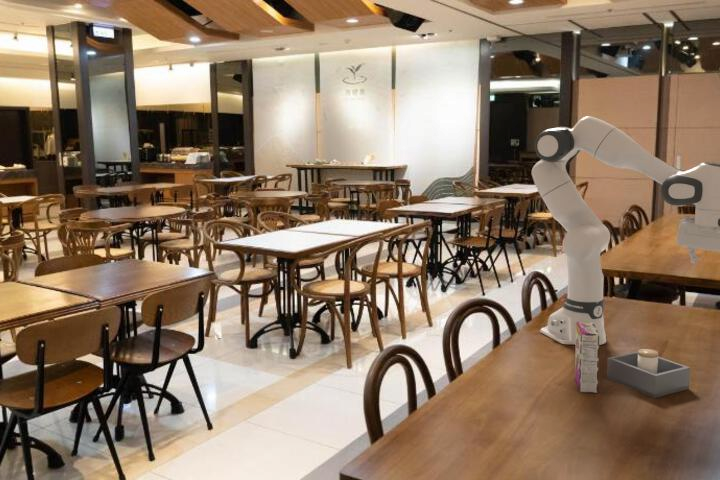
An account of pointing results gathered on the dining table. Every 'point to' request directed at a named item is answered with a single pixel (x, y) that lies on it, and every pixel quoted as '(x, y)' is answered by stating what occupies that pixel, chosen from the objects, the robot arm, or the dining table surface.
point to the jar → (648, 360)
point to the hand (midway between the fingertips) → (708, 265)
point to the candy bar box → (586, 357)
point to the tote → (648, 375)
